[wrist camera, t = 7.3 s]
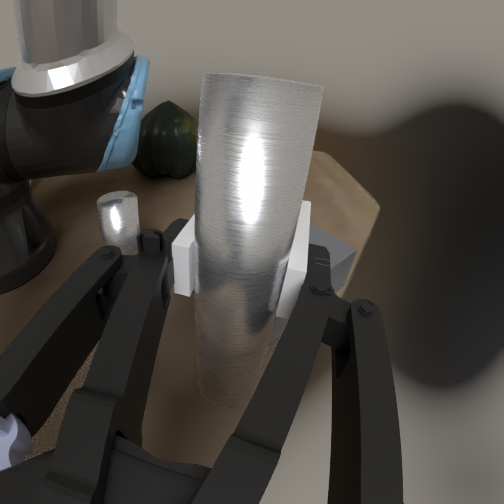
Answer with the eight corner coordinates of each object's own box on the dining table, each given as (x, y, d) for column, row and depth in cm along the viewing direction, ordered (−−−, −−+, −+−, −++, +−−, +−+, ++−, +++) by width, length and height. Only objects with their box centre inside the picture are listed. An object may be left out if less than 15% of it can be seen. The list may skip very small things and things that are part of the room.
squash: (165, 166, 44) (201, 91, 45) (103, 157, 48) (138, 92, 49) (200, 197, 57) (226, 133, 59) (143, 185, 61) (169, 127, 63)
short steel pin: (105, 271, 31) (91, 198, 25) (135, 259, 33) (127, 187, 28) (118, 291, 28) (104, 213, 23) (151, 277, 31) (144, 201, 26)
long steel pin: (186, 377, 19) (179, 71, 8) (229, 350, 21) (262, 75, 11) (224, 418, 17) (265, 80, 6) (268, 385, 19) (345, 91, 9)
